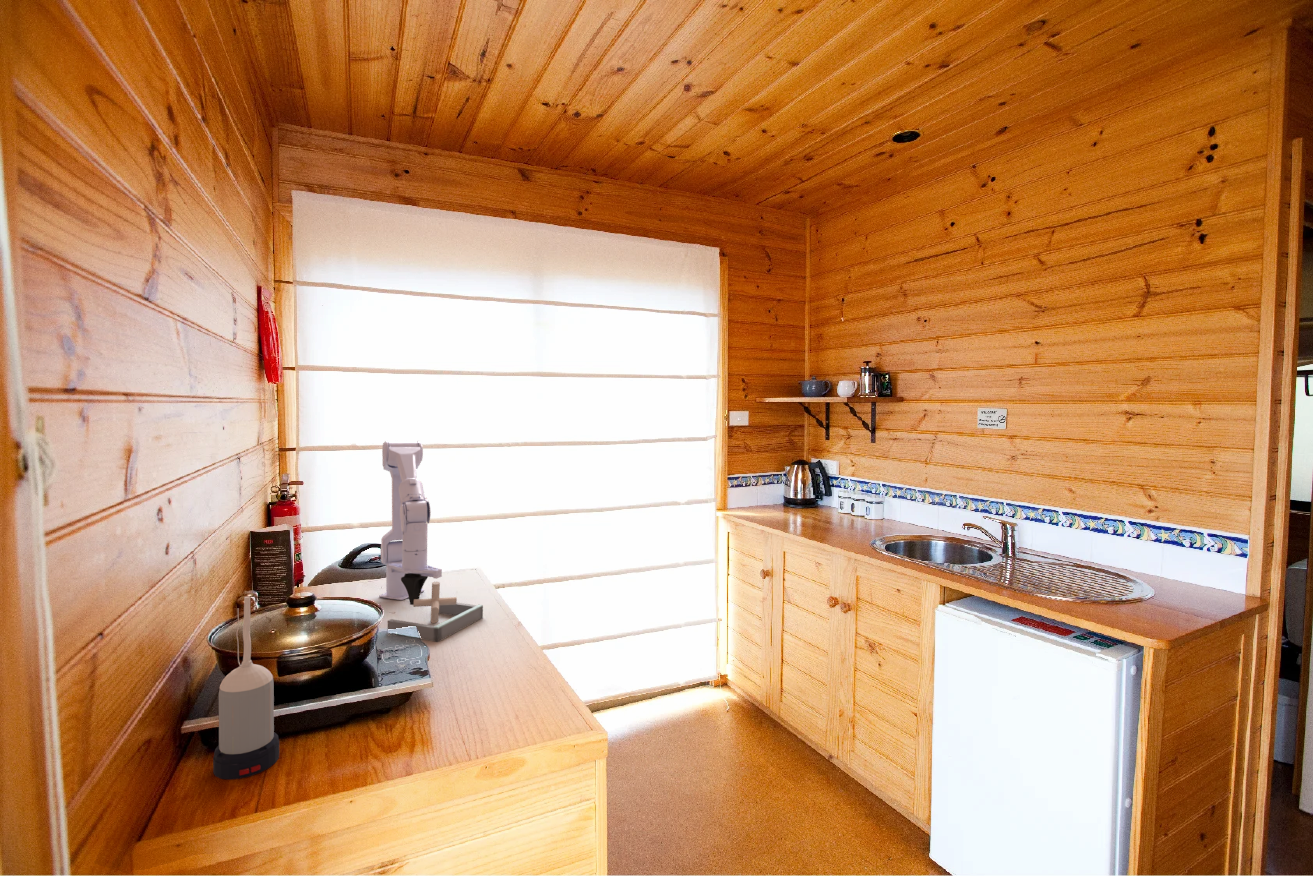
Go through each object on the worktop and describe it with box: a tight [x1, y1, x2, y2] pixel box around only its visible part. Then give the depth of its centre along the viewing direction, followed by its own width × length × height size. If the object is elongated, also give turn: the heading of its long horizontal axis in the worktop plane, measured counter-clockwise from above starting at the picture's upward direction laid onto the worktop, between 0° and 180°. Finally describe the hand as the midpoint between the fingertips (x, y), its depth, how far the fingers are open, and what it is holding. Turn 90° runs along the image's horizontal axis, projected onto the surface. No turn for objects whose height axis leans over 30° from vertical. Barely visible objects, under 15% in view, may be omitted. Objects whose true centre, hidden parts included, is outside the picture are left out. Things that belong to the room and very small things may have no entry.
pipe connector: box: [413, 581, 458, 624], centre depth 151 cm, size 10×10×10 cm
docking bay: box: [387, 602, 484, 643], centre depth 149 cm, size 14×17×3 cm
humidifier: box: [212, 595, 280, 781], centre depth 90 cm, size 8×8×25 cm
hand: (414, 603), depth 151 cm, fingers closed, pressing on pipe connector
